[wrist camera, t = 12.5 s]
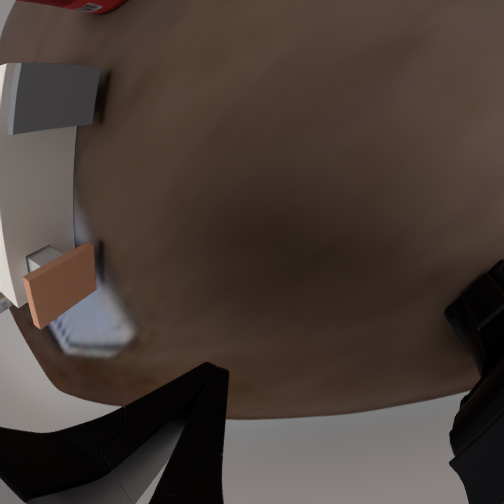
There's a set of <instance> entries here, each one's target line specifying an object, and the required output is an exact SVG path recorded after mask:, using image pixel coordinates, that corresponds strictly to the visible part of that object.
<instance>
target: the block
mask: <svg viewBox="0 0 504 504" xmlns="http://www.w3.org/2000/svg"><path fill="white" fill-rule="evenodd" d="M16 64H19V63H6V64H4V65H1V66H0V291H1V292H2V293H3V294H4V295H5V296H6V297H7V298H8V299H9V300H10V301H11V302H12V303H13V304H14V305H15V306H17V307H18V308H19V307H21V306H22V305H24V304H25V303H27V302H28V298H27V294H26V290H25V285H24V281H23V276H25V275H27V274H28V269H27V263H26V256H27V255H29V254H31V253H33V252H35V251H37V250H39V249H41V248H43V247H45V246H47V245H48V246H50V247H51V248H53V249H55V250H57V251H59V252H60V253H62V254H65V253H67V252H69V251H71V250H73V249H75V242H74V220H73V177H74V155H75V141H76V130H77V126H74V127H64V128H56V129H48V130H40V131H34V132H27V133H21V134H15V135H8V134H7V130H8V117H9V106H10V98H11V90H12V83H13V77H14V71H15V66H16Z"/></svg>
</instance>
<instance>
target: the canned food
mask: <svg viewBox="0 0 504 504" xmlns="http://www.w3.org/2000/svg"><path fill="white" fill-rule="evenodd" d="M18 1H25V2H32V3H39V4H46V5H51V6H57V7H62V8H67V9H72V10H76V11H80V12H84V13H89V14H101V13H106V12H109V11H111V10H113V9H115V8H117V7H118V6H120V5H121V4H122V3H124V2H125V1H126V0H18Z"/></svg>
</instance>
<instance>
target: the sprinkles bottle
mask: <svg viewBox="0 0 504 504" xmlns="http://www.w3.org/2000/svg"><path fill="white" fill-rule="evenodd" d="M11 305H13V303H12V302H11V301H10V300H9V299H8V298H7V297H6V296H5V295H4V294H3V293H2V292H1V291H0V313H2V312H3V311H5V310H6V309H8V308H9V307H10V306H11Z"/></svg>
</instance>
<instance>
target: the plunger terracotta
mask: <svg viewBox="0 0 504 504" xmlns="http://www.w3.org/2000/svg"><path fill="white" fill-rule="evenodd" d="M26 263H27V269H28V274H27V275H25V276H23V281H24V285H25V290H26V294H27V298H28V303H29V306H30V310H31V314H32V318H33V321H34V325H36V326H37V327H38V328H39V329H40V330H41V329H42V328H44V327H45V326H46V325H48V324H49V323H50V322H52V321H53V320H54V319H56V318H57V317H59V316H60V315H61V314H63V313H64V312H65V311H67V310H68V309H70V308H71V307H72V306H74V305H75V304H77V303H78V302H80V301H81V300H82V299H84V298H85V297H87V296H88V295H89V294H91V293H92V292H94V291H95V290H97V288H96V275H95V259H94V245H92V244H90V243H85V244H83V245H81V246H79V247H77V248H75V249H73V250H71V251H69V252H67V253H65V254H62V253H60V252H59V251H57V250H55V249H53V248H51V247H50V246H48V245H47V246H45V247H43V248H41V249H39V250H37V251H35V252H33V253H31V254H29V255H27V256H26Z"/></svg>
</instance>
